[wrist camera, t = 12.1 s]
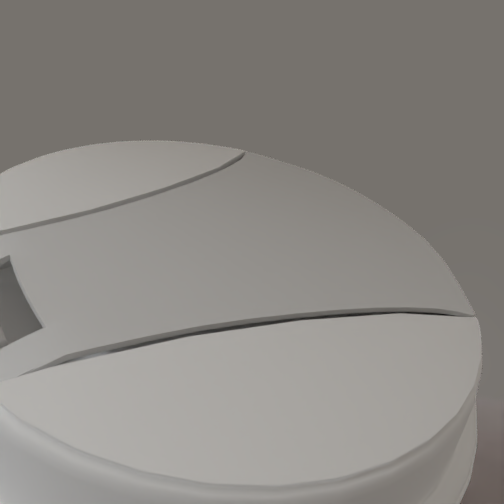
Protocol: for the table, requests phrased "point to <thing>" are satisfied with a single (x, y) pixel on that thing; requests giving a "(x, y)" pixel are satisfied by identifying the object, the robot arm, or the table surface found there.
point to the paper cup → (224, 336)
